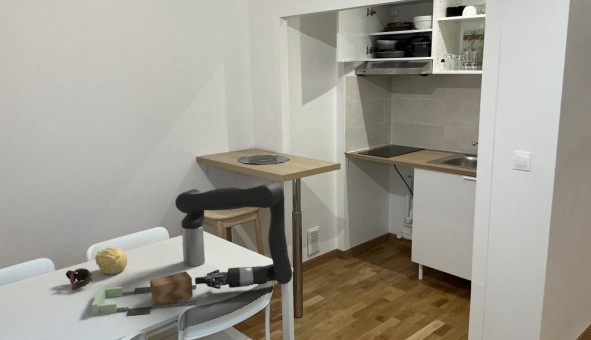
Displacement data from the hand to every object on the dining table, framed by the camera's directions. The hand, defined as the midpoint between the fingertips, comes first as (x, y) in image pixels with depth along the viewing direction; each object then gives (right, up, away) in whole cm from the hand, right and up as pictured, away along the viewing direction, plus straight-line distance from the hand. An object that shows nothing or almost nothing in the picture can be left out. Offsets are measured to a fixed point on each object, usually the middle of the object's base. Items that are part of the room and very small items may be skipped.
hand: (195, 281), depth 184 cm
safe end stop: (-31, -7, -4) cm, 32 cm away
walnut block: (-9, -6, 0) cm, 11 cm away
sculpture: (-40, -2, +24) cm, 47 cm away
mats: (-20, -7, -2) cm, 21 cm away
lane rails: (-14, -7, -1) cm, 15 cm away
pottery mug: (-49, -5, +11) cm, 50 cm away
